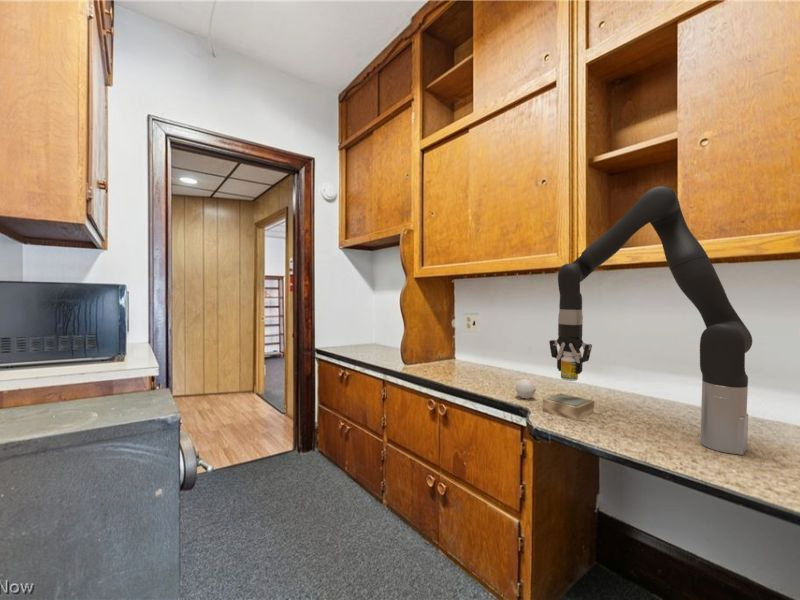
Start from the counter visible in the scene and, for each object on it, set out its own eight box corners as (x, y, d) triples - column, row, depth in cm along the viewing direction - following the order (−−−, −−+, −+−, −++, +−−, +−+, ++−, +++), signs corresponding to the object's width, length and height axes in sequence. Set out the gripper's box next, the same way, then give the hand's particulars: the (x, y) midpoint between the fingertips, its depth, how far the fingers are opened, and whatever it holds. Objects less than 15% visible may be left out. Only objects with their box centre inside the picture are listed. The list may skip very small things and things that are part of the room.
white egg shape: (531, 402, 140) (531, 382, 139) (512, 398, 145) (512, 379, 144) (541, 396, 147) (541, 377, 147) (522, 393, 152) (523, 375, 152)
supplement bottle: (566, 376, 133) (566, 349, 132) (581, 379, 128) (581, 351, 128) (557, 378, 130) (558, 350, 129) (572, 382, 125) (572, 353, 125)
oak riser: (594, 412, 129) (594, 400, 128) (577, 420, 121) (577, 407, 121) (559, 404, 138) (560, 392, 138) (542, 411, 130) (542, 398, 130)
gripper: (597, 323, 125) (595, 374, 126) (555, 320, 136) (554, 367, 137) (586, 325, 120) (585, 377, 121) (544, 321, 131) (543, 370, 132)
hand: (569, 371), depth 129 cm, fingers closed on supplement bottle, 5 cm apart
